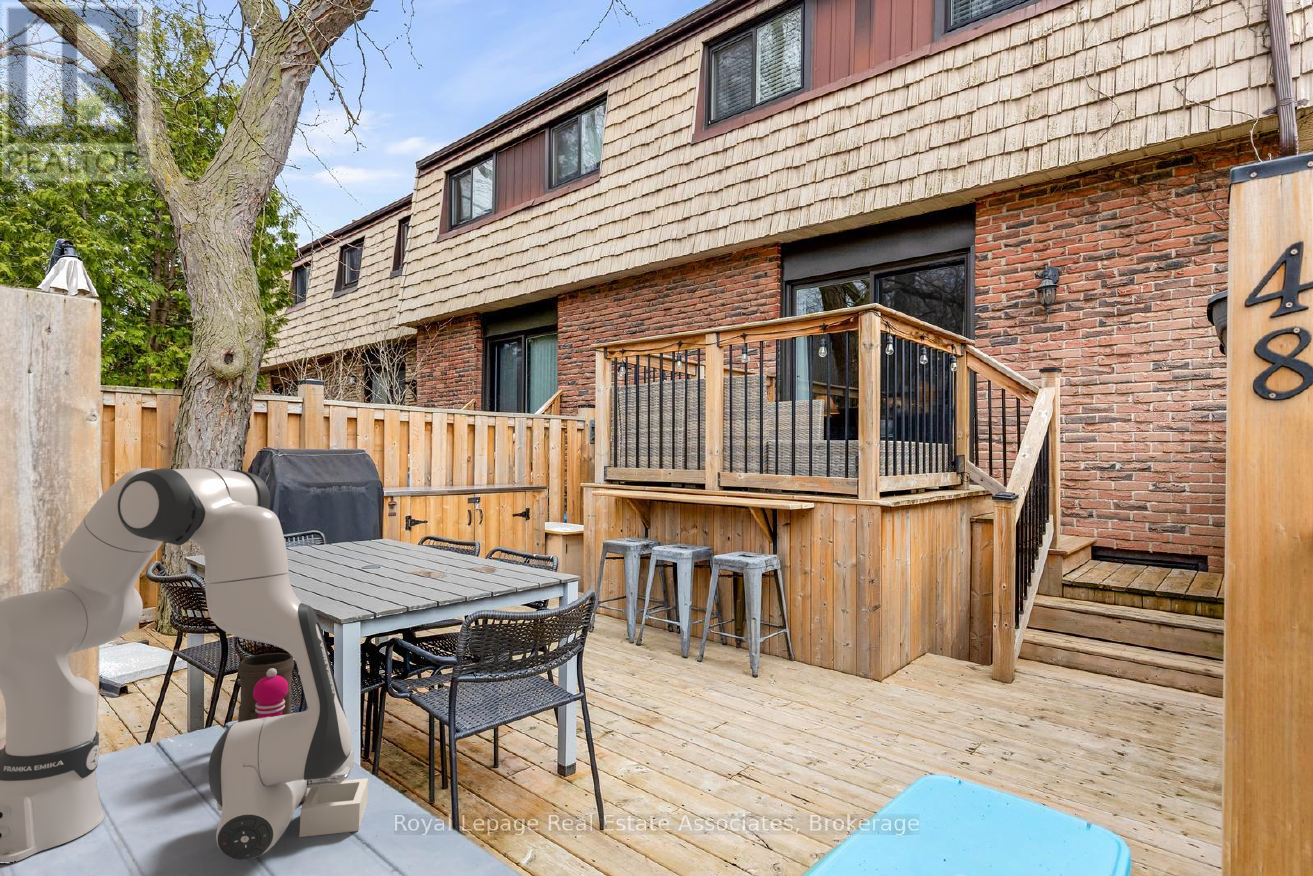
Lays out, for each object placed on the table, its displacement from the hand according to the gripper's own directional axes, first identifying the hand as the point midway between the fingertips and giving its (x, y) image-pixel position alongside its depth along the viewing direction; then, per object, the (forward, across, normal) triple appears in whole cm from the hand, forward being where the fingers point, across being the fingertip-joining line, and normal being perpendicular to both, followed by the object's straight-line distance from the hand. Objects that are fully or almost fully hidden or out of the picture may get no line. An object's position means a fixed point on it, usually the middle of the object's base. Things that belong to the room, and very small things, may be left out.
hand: (299, 749), depth 123 cm
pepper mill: (+11, +8, +9) cm, 16 cm away
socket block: (-10, -8, +8) cm, 15 cm away
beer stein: (+22, +12, +9) cm, 27 cm away
